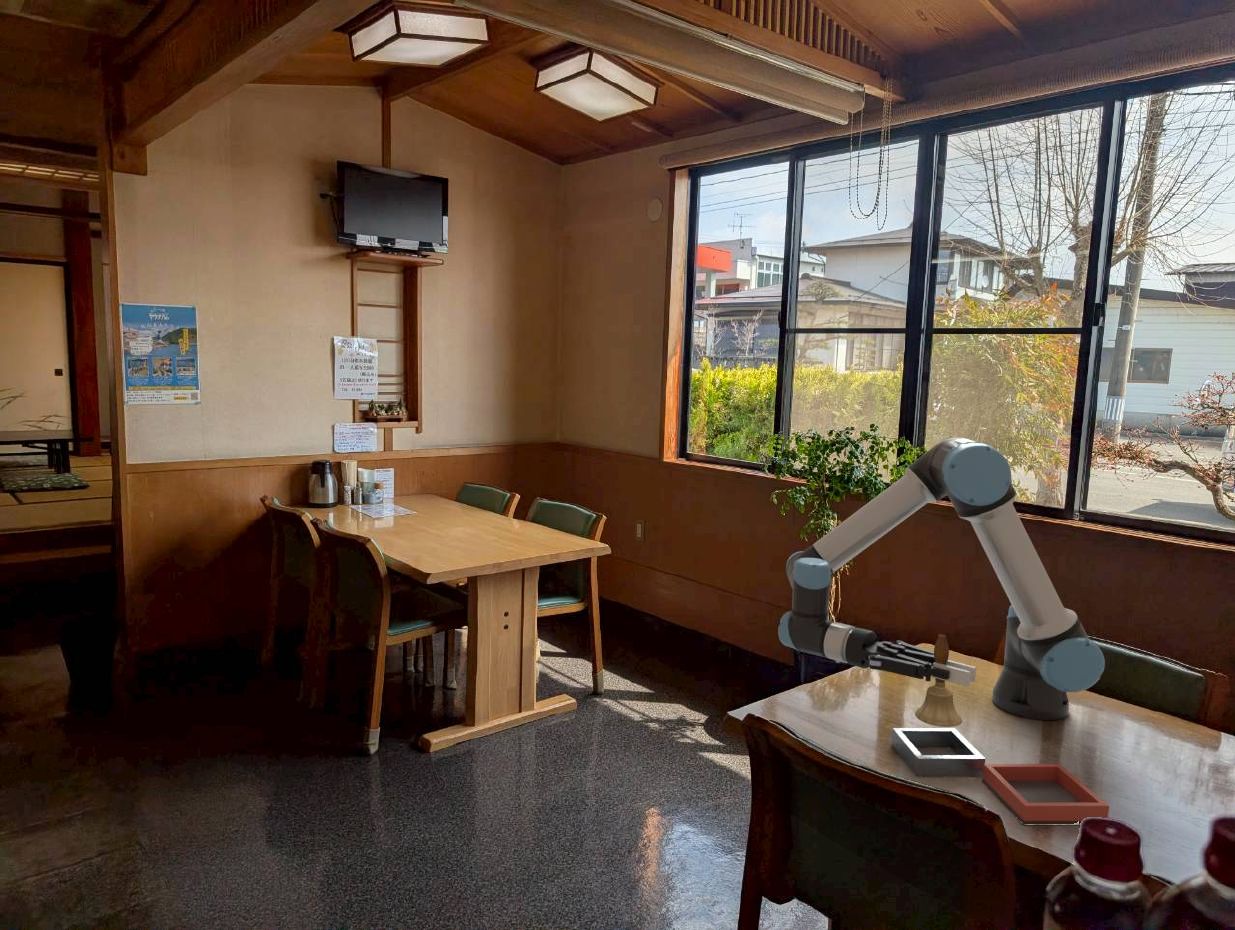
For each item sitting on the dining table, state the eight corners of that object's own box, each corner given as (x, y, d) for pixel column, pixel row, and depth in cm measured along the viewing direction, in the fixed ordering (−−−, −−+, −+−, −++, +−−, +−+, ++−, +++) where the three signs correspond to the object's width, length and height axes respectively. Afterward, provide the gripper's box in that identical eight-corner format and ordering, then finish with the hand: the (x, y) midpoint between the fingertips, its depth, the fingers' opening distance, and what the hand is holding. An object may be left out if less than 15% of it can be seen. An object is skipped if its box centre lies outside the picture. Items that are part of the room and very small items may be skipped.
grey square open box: (953, 745, 162) (954, 728, 162) (983, 776, 150) (985, 758, 149) (891, 745, 162) (892, 728, 161) (917, 776, 149) (918, 758, 149)
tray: (1058, 781, 149) (1059, 764, 148) (1107, 825, 135) (1109, 805, 134) (982, 781, 148) (983, 763, 148) (1023, 825, 134) (1025, 805, 134)
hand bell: (919, 725, 151) (925, 641, 149) (911, 706, 159) (916, 627, 158) (967, 729, 150) (973, 644, 148) (956, 710, 158) (961, 629, 156)
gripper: (868, 653, 172) (985, 684, 156) (832, 673, 160) (955, 709, 145) (870, 619, 171) (988, 646, 155) (834, 636, 159) (957, 668, 144)
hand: (971, 676), depth 150 cm, fingers closed on hand bell, 2 cm apart
